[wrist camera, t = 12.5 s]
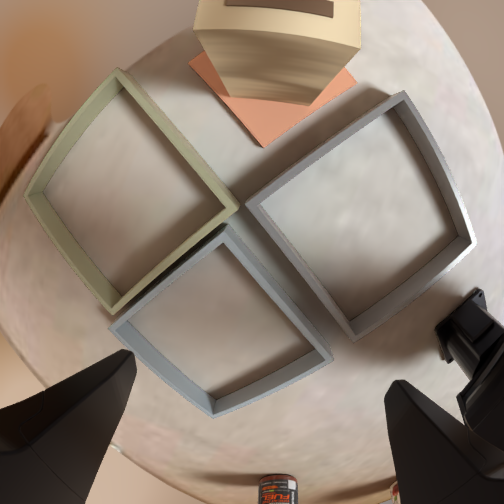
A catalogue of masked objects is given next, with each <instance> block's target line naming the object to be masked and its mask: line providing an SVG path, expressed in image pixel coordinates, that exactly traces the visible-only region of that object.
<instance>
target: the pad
mask: <svg viewBox="0 0 504 504" xmlns="http://www.w3.org/2000/svg"><path fill="white" fill-rule="evenodd" d="M188 64H189V65H190V66H191V67H192V68H193V69H194V70H195V71H196V73H197V74H198V75H199V76H200V77H201V78H202V79H203V80H204V81H205V82H206V83H207V84H208V85H209V86H210V87H211V88H212V89H213V91H214V92H215V93H216V94H217V95H218V96H219V97H220V98H221V99H222V100H223V101H224V103H225V104H226V105H227V106H228V107H229V108H230V109H231V110H232V112H233V113H234V114H235V115H236V116H237V117H238V118H239V120H240V121H241V122H242V123H243V124H244V125H245V127H246V128H247V129H248V130H249V131H250V132H251V134H252V135H253V136H254V137H255V138H256V140H257V141H258V142H259V143H260V144H261V146H262V147H263V148H264V147H266V146H267V145H268V144H270V143H271V142H272V141H274V140H275V139H276V138H278V137H279V136H281V135H282V134H283V133H285V132H286V131H287V130H289V129H290V128H292V127H293V126H294V125H296V124H297V123H299V122H300V121H301V120H303V119H304V118H306V117H307V116H309V115H310V114H311V113H313V112H314V111H316V110H317V109H319V108H320V107H322V106H323V105H325V104H326V103H328V102H329V101H331V100H332V99H334V98H335V97H337V96H338V95H340V94H341V93H343V92H345V91H346V90H348V89H349V88H351V87H352V86H354V85H356V84H357V82H356V80H355V79H354V78H353V77H352V75H351V74H350V73H349V72H348V71H347V69H346V68H345V67H344V68H343V69H342V70H341V71H340V72H339V73H338V74H337V75H336V76H335V78H334V79H333V80H332V81H331V82H330V83H329V84H328V85H327V87H326V88H325V89H324V90H323V91H322V92H321V93H320V95H319V96H318V97H317V98H316V99H315V100H314V102H313V103H312V104H311V105H310V106H304V105H298V104H291V103H284V102H276V101H267V100H258V99H246V98H232V97H230V95H229V93H228V91H227V90H226V88H225V86H224V84H223V82H222V80H221V78H220V77H219V75H218V73H217V71H216V69H215V68H214V66H213V64H212V62H211V61H210V59H209V57H208V55H207V54H206V52H205V50H204V51H203V52H202V53H200V54H199V55H198V56H196V57H195V58H194V59H192V60H191V61H190V62H188Z"/></svg>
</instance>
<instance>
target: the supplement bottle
mask: <svg viewBox="0 0 504 504" xmlns="http://www.w3.org/2000/svg"><path fill="white" fill-rule="evenodd" d="M258 504H298V485H297V480H296V478H294V477H292V476H289V475H271V476H266V477H264V478H262V479H261V480H260V481H259V488H258Z"/></svg>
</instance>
